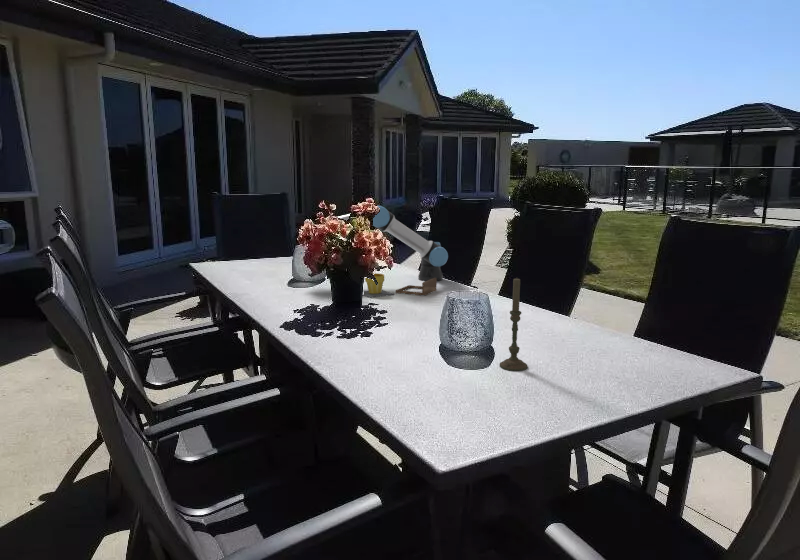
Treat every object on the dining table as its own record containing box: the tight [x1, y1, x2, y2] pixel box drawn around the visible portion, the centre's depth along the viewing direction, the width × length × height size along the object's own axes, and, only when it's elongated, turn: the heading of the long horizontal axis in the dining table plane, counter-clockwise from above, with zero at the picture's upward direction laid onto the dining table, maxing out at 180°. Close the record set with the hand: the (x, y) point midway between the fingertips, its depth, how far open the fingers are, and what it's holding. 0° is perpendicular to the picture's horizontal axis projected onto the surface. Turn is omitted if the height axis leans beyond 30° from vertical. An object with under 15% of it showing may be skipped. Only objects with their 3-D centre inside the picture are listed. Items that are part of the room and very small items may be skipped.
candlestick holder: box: [499, 278, 529, 372], centre depth 180 cm, size 9×9×30 cm
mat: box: [363, 289, 395, 299], centre depth 300 cm, size 15×15×1 cm
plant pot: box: [364, 273, 385, 294], centre depth 299 cm, size 10×10×10 cm
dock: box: [395, 278, 437, 296], centre depth 305 cm, size 17×17×7 cm
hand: (358, 252), depth 300 cm, fingers open, 13 cm apart
